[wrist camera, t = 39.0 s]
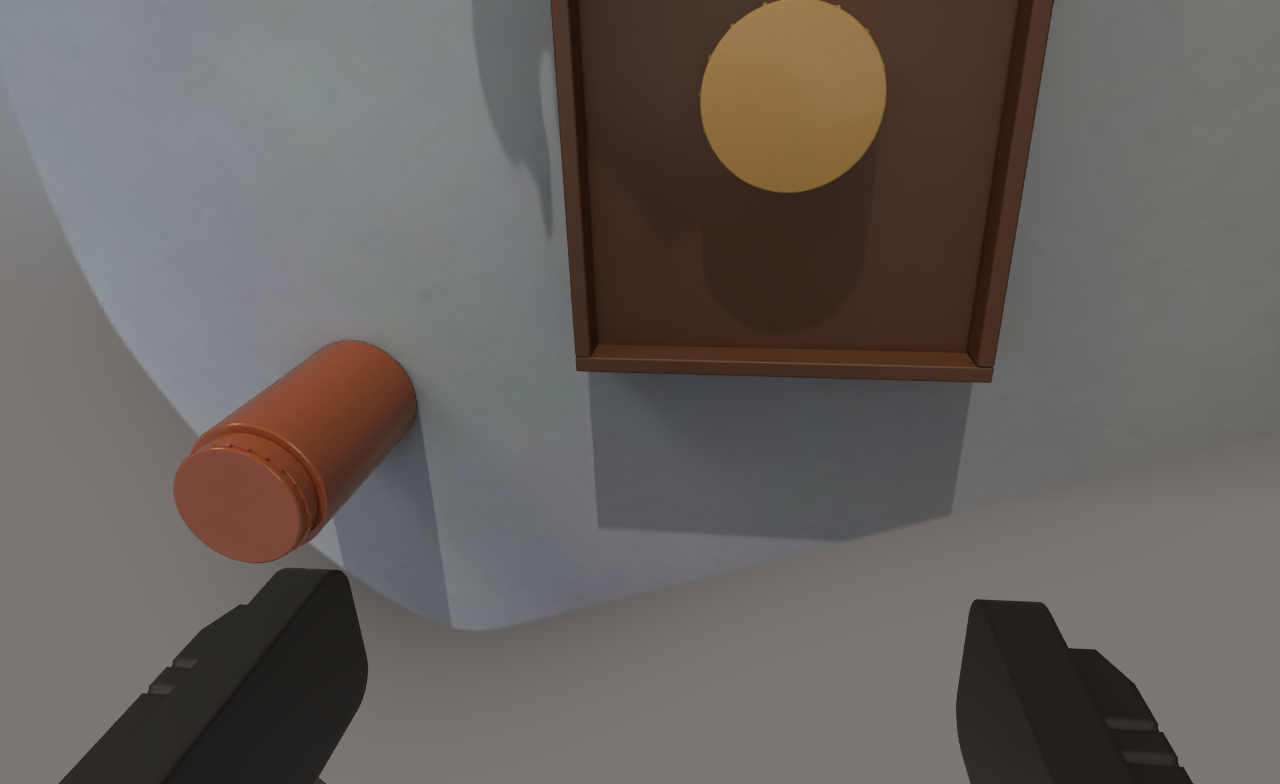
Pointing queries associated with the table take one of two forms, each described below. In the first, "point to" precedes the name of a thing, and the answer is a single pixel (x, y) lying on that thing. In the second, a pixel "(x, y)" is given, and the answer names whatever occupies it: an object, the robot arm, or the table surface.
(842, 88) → the jar lid
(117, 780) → the robot arm
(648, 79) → the tray
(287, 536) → the jar
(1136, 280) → the table surface
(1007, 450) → the table surface
